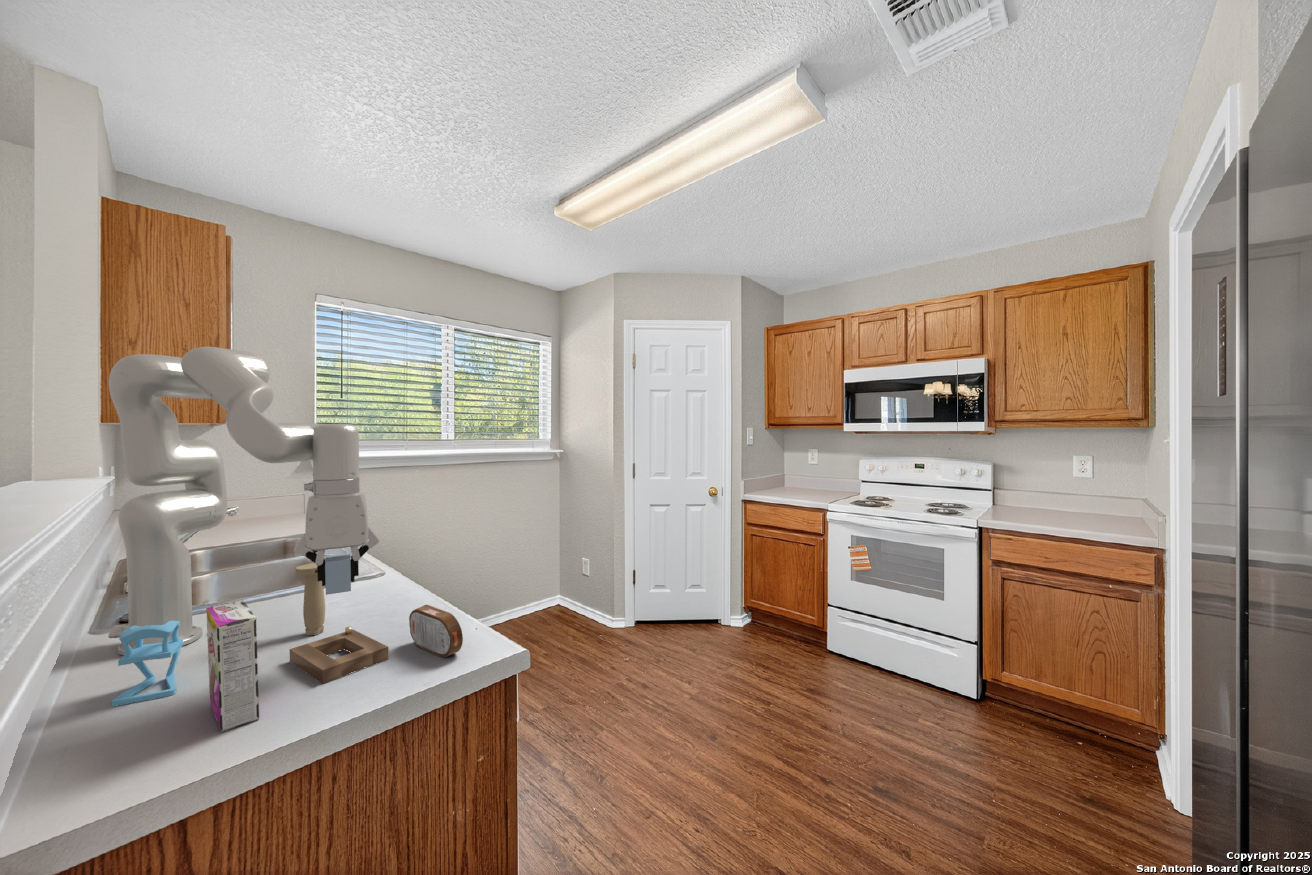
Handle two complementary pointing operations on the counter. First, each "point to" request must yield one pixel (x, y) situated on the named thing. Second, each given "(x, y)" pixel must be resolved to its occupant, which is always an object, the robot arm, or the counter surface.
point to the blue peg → (338, 573)
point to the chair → (149, 658)
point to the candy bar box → (232, 664)
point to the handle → (312, 599)
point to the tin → (435, 630)
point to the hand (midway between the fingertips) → (338, 581)
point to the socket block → (327, 668)
